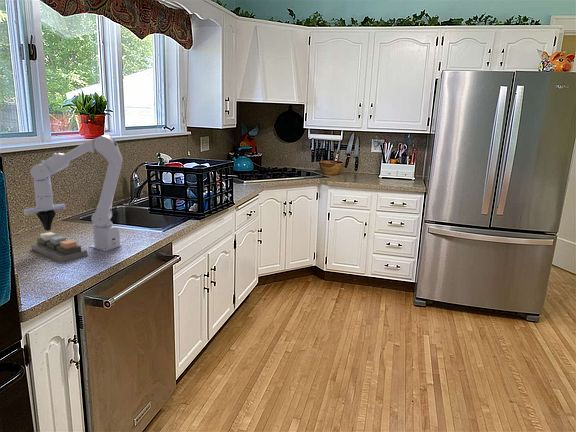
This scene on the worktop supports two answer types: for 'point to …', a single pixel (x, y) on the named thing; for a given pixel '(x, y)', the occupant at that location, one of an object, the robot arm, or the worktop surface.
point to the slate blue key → (57, 240)
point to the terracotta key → (68, 244)
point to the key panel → (58, 251)
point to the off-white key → (47, 236)
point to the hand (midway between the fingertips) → (47, 229)
